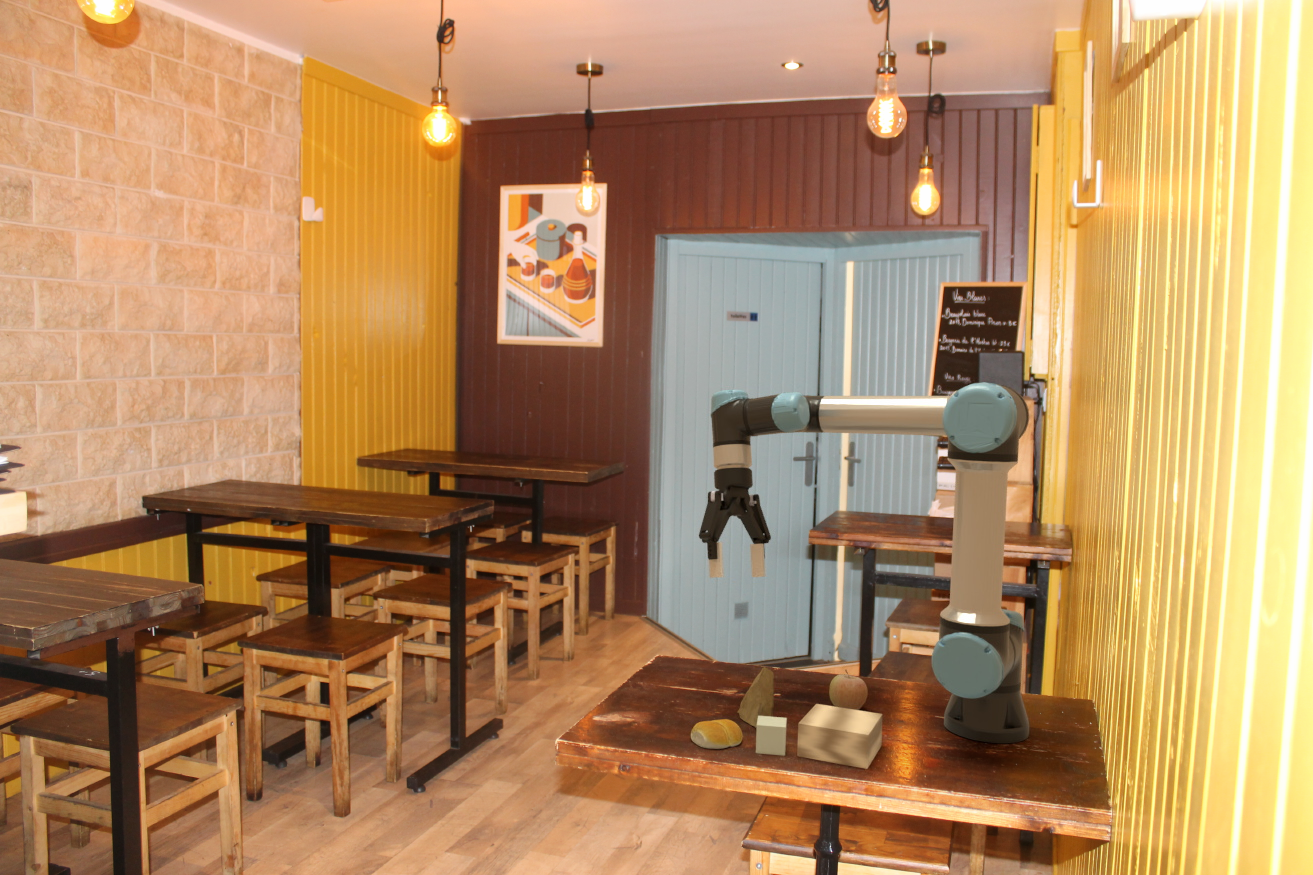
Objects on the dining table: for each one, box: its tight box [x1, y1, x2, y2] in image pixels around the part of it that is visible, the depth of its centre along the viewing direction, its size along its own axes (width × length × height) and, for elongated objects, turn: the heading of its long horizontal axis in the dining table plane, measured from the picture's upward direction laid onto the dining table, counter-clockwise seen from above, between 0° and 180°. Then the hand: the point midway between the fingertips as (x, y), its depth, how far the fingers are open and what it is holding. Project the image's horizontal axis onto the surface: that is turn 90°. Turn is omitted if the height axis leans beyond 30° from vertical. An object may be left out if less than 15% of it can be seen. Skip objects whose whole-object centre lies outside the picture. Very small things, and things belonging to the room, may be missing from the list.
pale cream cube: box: [755, 716, 788, 756], centre depth 169 cm, size 5×5×5 cm
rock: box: [736, 666, 775, 730], centre depth 182 cm, size 11×9×10 cm
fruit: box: [828, 668, 869, 710], centre depth 191 cm, size 8×7×8 cm
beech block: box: [796, 703, 883, 770], centre depth 169 cm, size 12×12×6 cm
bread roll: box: [690, 718, 743, 750], centre depth 172 cm, size 8×9×4 cm
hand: (738, 577), depth 188 cm, fingers open, 13 cm apart
